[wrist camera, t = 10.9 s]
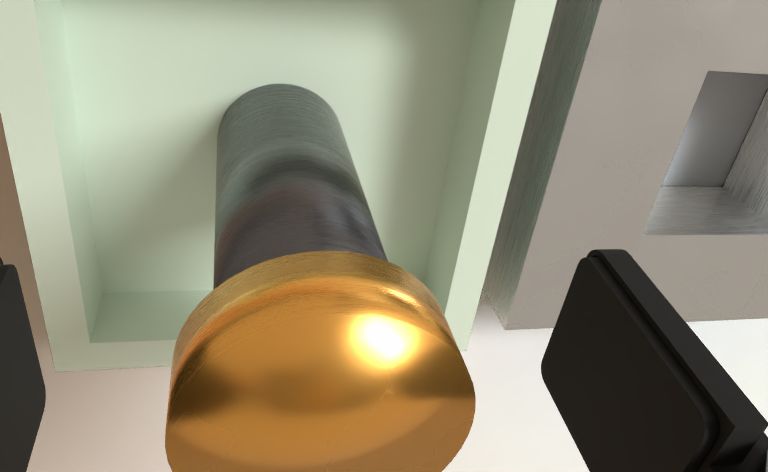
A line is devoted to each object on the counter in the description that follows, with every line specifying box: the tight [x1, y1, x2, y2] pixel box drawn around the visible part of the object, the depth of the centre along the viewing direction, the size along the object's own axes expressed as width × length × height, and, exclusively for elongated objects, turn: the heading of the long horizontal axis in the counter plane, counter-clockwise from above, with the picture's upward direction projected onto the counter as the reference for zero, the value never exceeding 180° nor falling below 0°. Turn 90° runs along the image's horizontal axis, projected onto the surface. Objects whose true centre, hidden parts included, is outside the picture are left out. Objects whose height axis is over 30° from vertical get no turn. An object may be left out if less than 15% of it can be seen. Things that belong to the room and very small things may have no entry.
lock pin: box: [165, 84, 475, 472], centre depth 14 cm, size 5×5×10 cm
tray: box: [0, 0, 557, 372], centre depth 17 cm, size 12×12×3 cm
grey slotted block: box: [483, 0, 768, 330], centre depth 20 cm, size 12×12×3 cm
